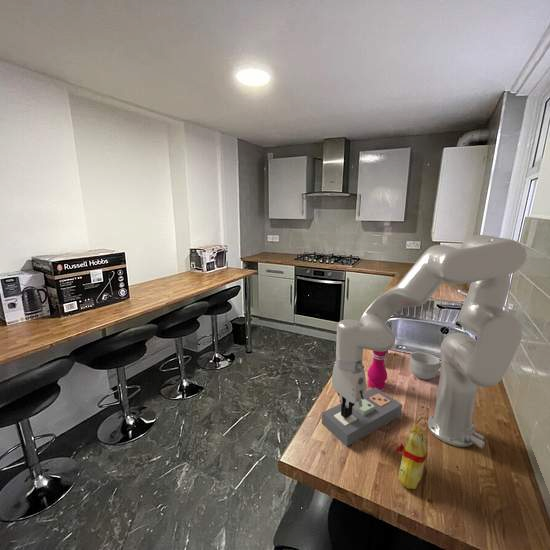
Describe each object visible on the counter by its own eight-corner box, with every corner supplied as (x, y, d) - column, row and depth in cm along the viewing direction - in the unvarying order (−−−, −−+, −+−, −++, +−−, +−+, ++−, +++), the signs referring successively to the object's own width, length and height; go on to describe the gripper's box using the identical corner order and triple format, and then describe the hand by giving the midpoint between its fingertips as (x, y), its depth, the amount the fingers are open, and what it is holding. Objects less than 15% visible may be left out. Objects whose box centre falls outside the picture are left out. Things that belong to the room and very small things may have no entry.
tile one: (356, 428, 90) (356, 418, 89) (344, 435, 88) (345, 424, 87) (344, 418, 94) (345, 409, 94) (332, 424, 92) (333, 415, 91)
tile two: (374, 415, 94) (374, 405, 93) (363, 421, 91) (364, 411, 91) (362, 406, 98) (362, 397, 97) (351, 412, 96) (352, 402, 95)
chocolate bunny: (427, 465, 78) (434, 417, 75) (416, 496, 70) (423, 444, 66) (401, 452, 82) (406, 406, 79) (387, 479, 74) (392, 429, 71)
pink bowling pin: (387, 391, 109) (392, 342, 104) (367, 389, 111) (371, 340, 106) (384, 380, 116) (389, 334, 111) (365, 378, 117) (369, 332, 113)
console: (401, 414, 97) (402, 404, 96) (346, 446, 84) (347, 435, 83) (374, 396, 106) (375, 387, 105) (321, 423, 93) (322, 412, 92)
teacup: (403, 374, 120) (405, 357, 118) (415, 365, 127) (417, 348, 125) (440, 390, 110) (443, 371, 108) (450, 378, 117) (453, 360, 115)
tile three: (389, 410, 98) (390, 400, 98) (379, 415, 96) (380, 405, 95) (377, 401, 103) (378, 392, 102) (367, 406, 100) (368, 397, 99)
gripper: (378, 369, 81) (374, 425, 86) (340, 348, 94) (338, 398, 98) (359, 377, 78) (356, 436, 82) (322, 354, 90) (321, 406, 94)
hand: (346, 415), depth 90 cm, fingers closed
